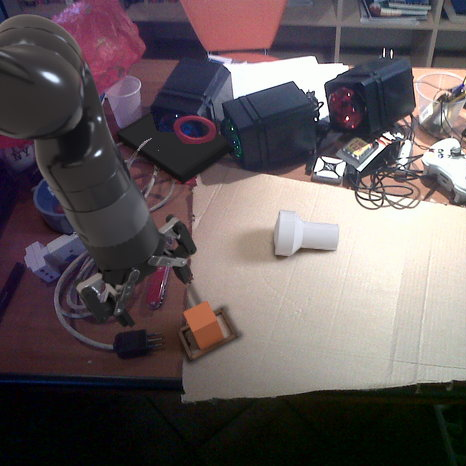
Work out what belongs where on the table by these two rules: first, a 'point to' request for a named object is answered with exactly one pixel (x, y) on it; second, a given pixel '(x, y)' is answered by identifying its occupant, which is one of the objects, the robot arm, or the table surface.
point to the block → (204, 325)
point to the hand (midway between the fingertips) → (157, 300)
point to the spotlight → (302, 234)
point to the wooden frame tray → (212, 347)
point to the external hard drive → (172, 149)
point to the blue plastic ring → (50, 208)
